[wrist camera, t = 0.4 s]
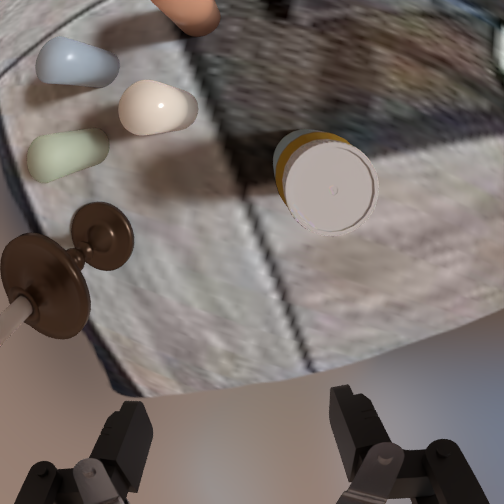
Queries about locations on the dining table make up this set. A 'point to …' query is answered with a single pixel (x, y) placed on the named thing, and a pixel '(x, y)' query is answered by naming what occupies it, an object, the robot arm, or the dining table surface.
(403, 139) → the dining table surface
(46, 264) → the candlestick
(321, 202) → the bottle
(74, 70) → the dusty blue canister
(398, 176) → the dining table surface
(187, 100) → the cream canister
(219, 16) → the terracotta canister
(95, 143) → the sage canister
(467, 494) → the robot arm
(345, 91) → the dining table surface
